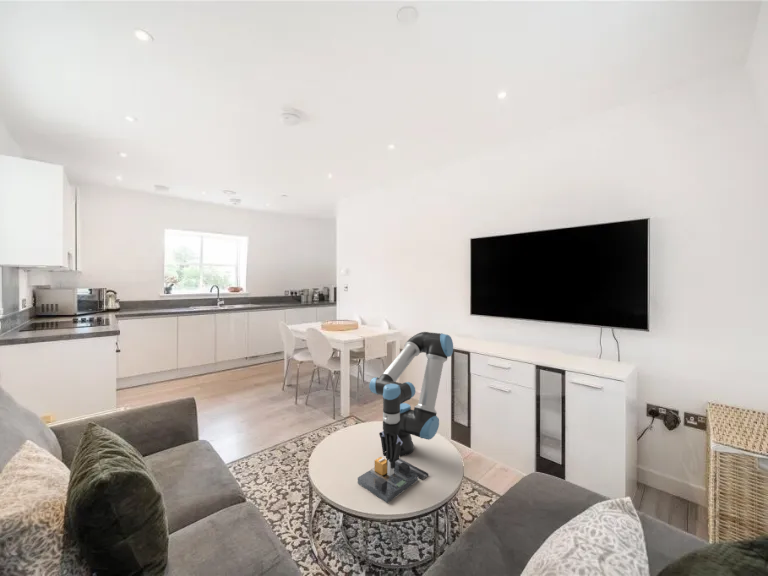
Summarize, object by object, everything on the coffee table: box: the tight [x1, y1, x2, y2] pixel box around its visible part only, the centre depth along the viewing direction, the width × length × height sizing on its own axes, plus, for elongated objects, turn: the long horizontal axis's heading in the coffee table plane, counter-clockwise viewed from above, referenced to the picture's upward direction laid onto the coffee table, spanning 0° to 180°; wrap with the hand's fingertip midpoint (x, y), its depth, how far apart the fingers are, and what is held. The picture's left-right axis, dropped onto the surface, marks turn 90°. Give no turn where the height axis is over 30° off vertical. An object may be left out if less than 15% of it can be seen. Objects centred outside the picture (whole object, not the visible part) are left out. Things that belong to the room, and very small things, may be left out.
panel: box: [357, 463, 419, 504], centre depth 141 cm, size 20×18×6 cm
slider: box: [374, 456, 387, 476], centre depth 144 cm, size 4×5×6 cm
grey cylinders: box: [395, 457, 429, 480], centre depth 151 cm, size 5×21×1 cm, turn 46°
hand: (390, 474), depth 140 cm, fingers closed
